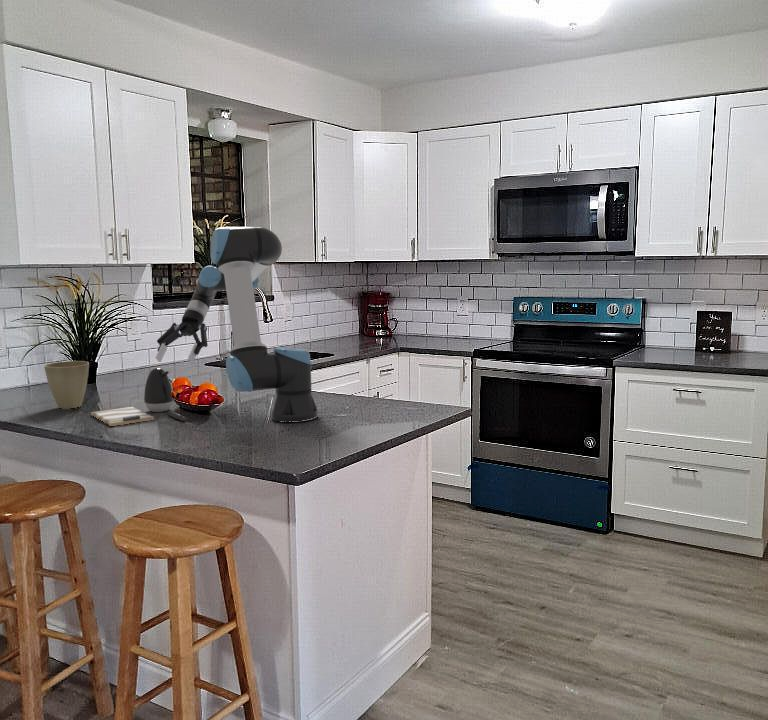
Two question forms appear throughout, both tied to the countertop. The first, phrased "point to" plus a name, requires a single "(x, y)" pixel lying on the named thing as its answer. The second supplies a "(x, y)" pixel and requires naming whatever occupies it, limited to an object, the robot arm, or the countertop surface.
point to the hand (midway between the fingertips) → (173, 360)
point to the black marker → (177, 416)
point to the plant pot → (68, 382)
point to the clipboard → (122, 416)
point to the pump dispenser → (158, 391)
